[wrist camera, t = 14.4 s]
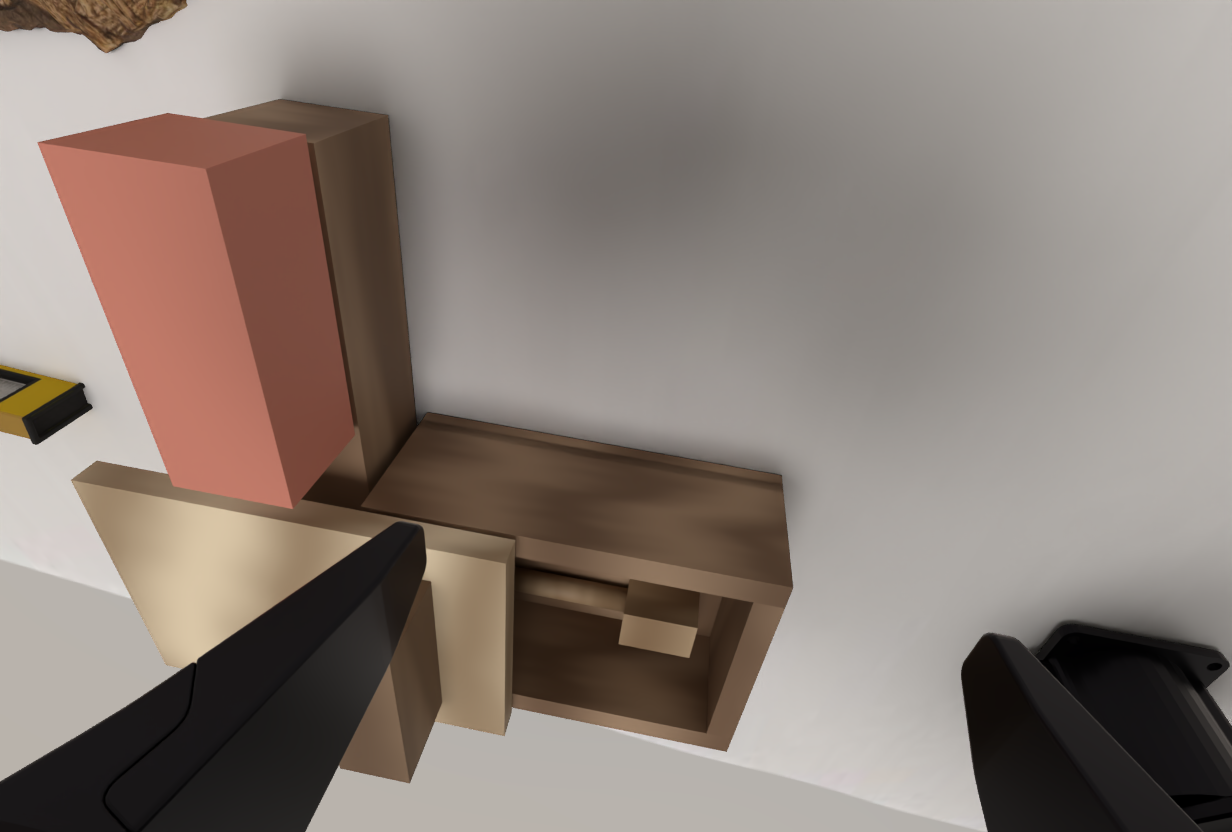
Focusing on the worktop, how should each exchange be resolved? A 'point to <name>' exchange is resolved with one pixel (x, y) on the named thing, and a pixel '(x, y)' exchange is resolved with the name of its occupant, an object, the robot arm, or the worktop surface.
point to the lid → (288, 559)
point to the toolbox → (546, 495)
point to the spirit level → (38, 404)
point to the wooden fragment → (90, 17)
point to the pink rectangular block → (214, 296)
